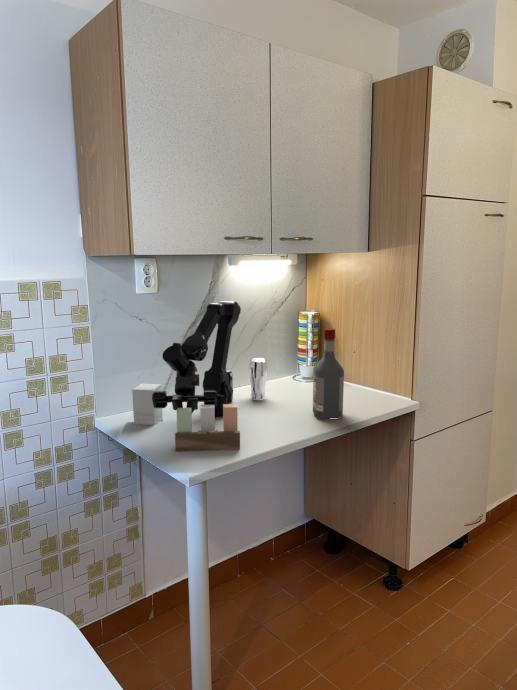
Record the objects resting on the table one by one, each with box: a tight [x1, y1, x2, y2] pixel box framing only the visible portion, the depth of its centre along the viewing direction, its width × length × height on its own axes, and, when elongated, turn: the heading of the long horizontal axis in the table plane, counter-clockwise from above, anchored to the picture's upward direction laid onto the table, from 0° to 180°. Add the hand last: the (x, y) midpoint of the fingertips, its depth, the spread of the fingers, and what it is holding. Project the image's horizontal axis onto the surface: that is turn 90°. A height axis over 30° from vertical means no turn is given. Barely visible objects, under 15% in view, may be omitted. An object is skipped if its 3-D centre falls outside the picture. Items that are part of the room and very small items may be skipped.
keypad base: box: [174, 429, 241, 452], centre depth 154 cm, size 8×18×6 cm, turn 95°
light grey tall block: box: [199, 404, 216, 432], centre depth 155 cm, size 3×4×11 cm
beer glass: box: [248, 357, 268, 402], centre depth 203 cm, size 7×7×15 cm
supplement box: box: [131, 383, 164, 426], centre depth 174 cm, size 7×7×13 cm
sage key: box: [176, 407, 193, 432], centre depth 152 cm, size 3×4×11 cm
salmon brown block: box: [222, 403, 239, 431], centre depth 156 cm, size 3×4×11 cm
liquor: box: [312, 327, 345, 420], centre depth 181 cm, size 9×9×30 cm
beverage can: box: [226, 368, 234, 404], centre depth 199 cm, size 7×7×12 cm
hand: (184, 425), depth 154 cm, fingers closed, pressing on sage key
